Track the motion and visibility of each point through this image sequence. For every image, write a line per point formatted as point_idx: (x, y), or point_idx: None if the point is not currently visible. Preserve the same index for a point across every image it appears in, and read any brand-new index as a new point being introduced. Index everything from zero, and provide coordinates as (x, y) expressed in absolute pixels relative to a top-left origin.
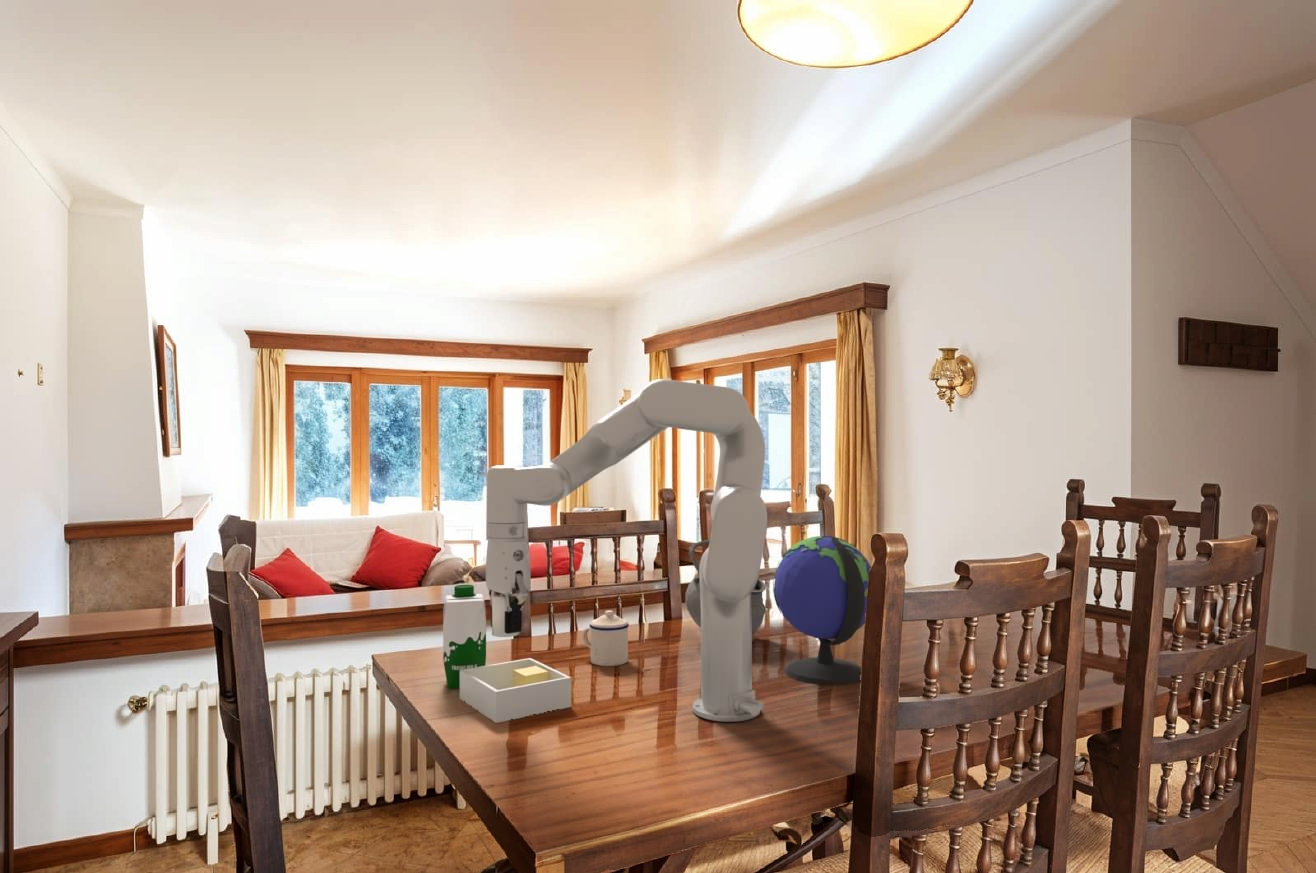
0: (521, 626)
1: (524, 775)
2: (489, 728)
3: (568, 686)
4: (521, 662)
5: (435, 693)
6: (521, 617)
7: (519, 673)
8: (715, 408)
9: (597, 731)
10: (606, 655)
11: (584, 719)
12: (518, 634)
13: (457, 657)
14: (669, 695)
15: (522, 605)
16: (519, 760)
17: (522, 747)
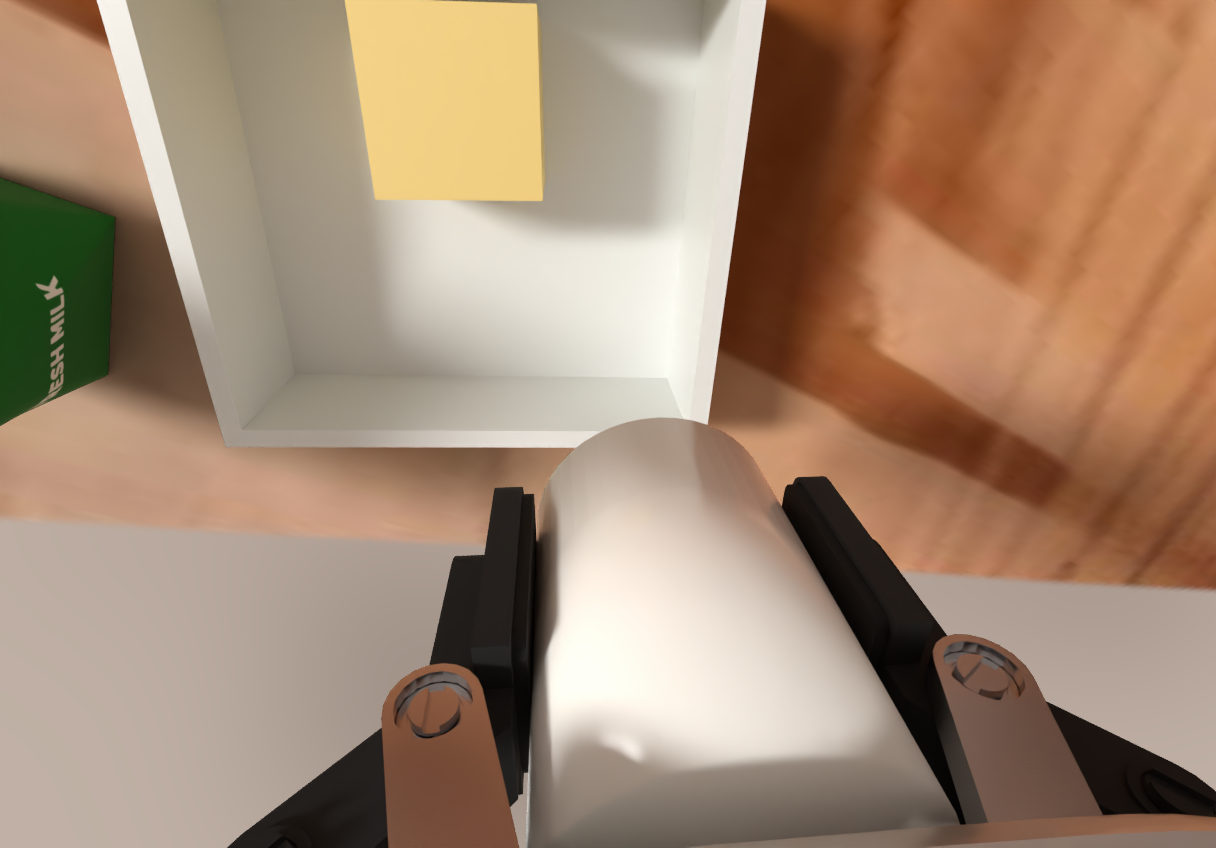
0: (838, 496)
1: (1100, 488)
2: (709, 423)
3: None
4: (136, 12)
5: (156, 435)
6: (882, 557)
7: (462, 199)
8: None
9: (1072, 87)
10: None
11: (916, 39)
12: (745, 449)
13: (9, 415)
14: None
15: (1104, 731)
16: (1013, 458)
17: (943, 409)
